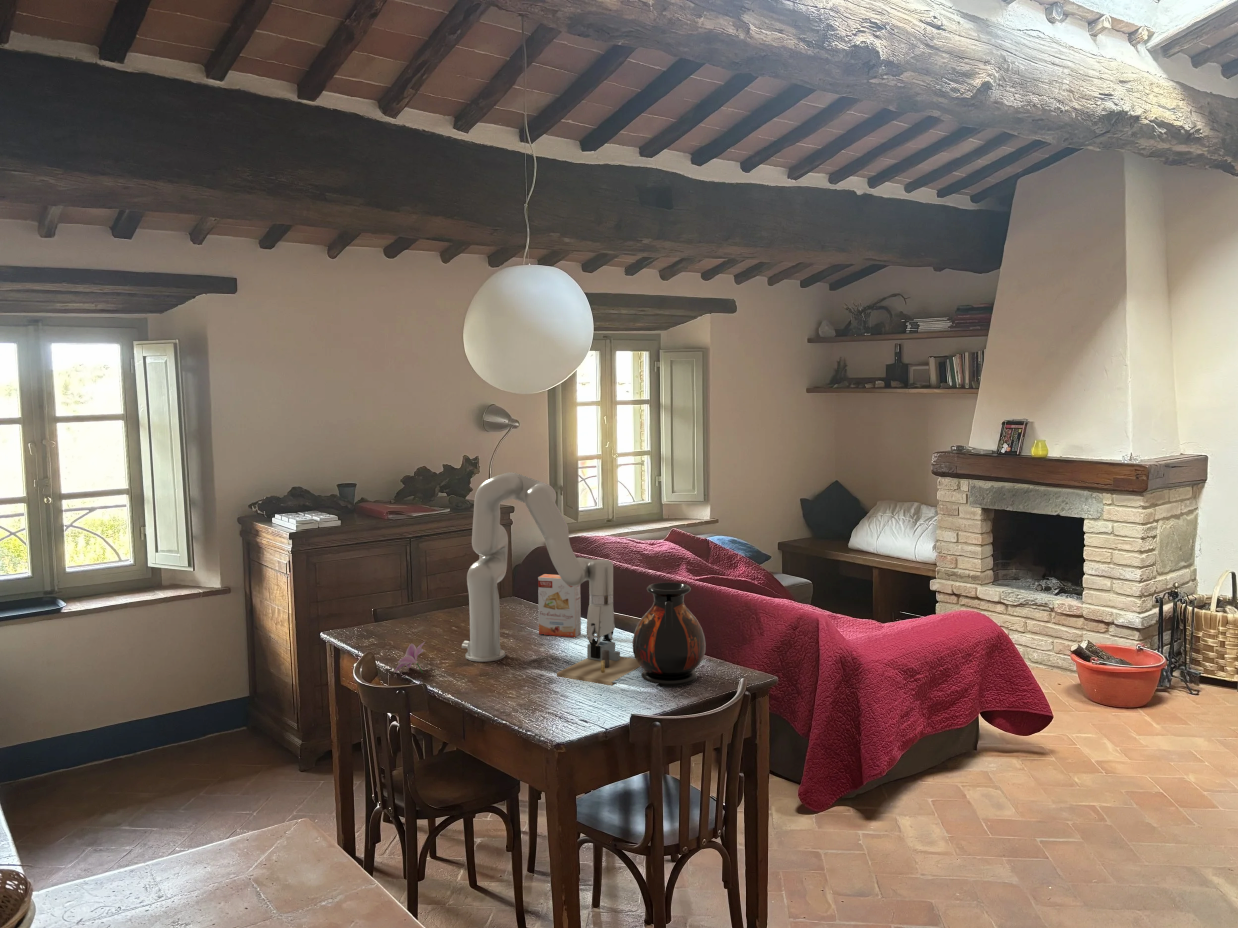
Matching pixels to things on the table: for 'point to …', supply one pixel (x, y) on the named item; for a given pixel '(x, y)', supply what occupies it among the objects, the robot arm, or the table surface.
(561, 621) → the cracker box
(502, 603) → the table surface
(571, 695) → the table surface
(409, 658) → the lily
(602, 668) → the cylinder
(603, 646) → the grey square hole block
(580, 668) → the post base
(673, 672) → the black orange vase
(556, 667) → the table surface
